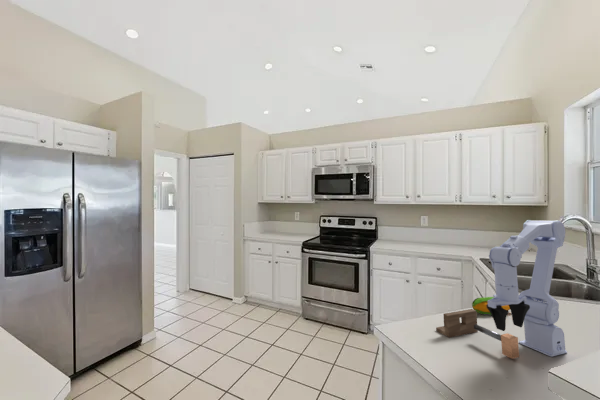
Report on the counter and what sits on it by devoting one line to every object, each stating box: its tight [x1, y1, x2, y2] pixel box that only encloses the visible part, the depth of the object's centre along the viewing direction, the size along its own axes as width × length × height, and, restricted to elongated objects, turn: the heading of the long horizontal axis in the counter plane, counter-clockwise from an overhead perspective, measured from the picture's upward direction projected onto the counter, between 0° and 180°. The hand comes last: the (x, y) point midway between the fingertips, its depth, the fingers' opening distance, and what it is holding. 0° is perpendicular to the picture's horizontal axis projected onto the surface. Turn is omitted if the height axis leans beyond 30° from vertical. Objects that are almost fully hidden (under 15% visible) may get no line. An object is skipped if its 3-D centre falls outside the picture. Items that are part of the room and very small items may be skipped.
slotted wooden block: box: [435, 308, 479, 339], centre depth 100 cm, size 6×14×8 cm, turn 106°
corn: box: [471, 296, 511, 316], centre depth 116 cm, size 7×8×20 cm
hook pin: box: [474, 323, 520, 360], centre depth 86 cm, size 13×3×6 cm, turn 16°
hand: (509, 327), depth 81 cm, fingers open, 7 cm apart
